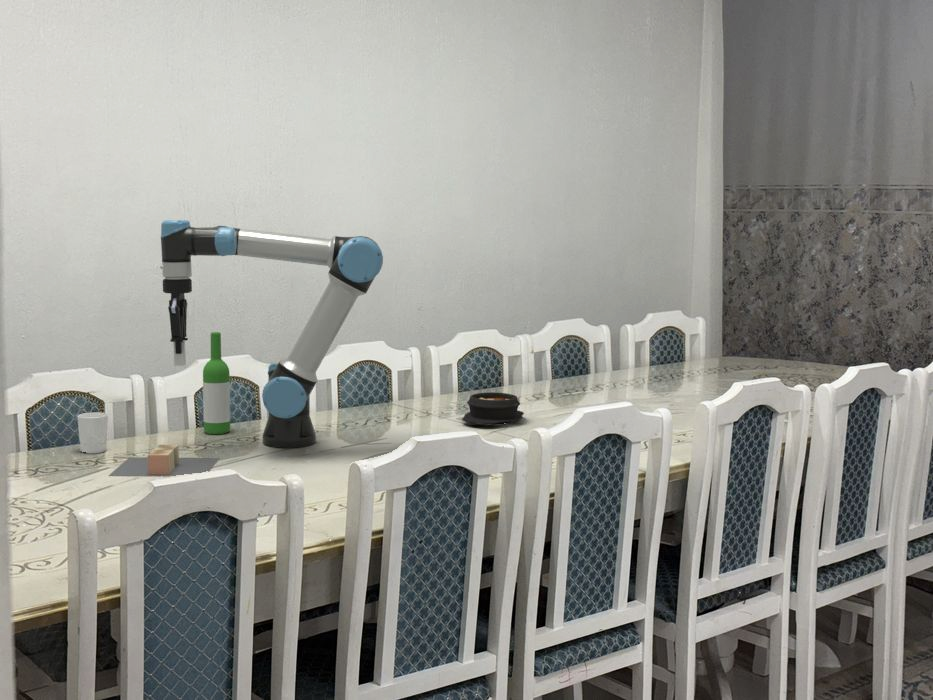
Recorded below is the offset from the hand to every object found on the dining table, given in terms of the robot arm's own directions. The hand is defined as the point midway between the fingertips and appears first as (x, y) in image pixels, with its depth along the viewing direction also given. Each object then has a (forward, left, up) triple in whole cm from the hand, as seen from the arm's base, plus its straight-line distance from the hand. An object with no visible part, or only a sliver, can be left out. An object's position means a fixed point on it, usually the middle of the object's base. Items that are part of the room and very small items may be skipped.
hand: (180, 365), depth 293 cm
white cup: (+24, -3, -25) cm, 35 cm away
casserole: (-89, -47, -25) cm, 103 cm away
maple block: (0, +13, -22) cm, 25 cm away
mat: (0, +16, -24) cm, 29 cm away
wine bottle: (-5, -28, -25) cm, 37 cm away
